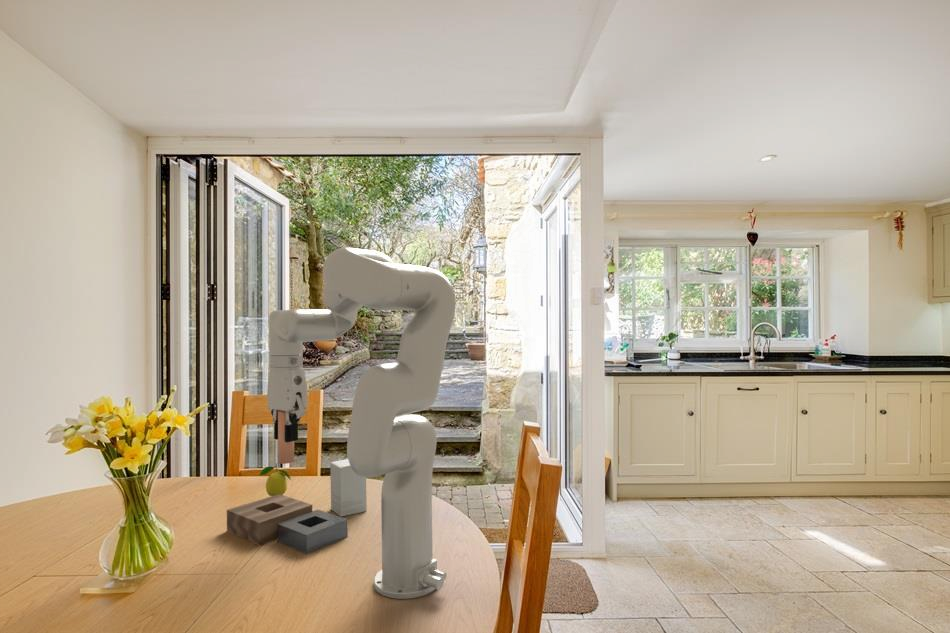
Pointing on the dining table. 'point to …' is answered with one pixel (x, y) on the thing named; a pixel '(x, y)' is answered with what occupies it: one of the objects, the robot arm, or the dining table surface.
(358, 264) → the robot arm
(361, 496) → the supplement box
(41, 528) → the dining table surface
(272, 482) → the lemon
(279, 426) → the pin
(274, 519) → the socket block
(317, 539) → the pin mount
